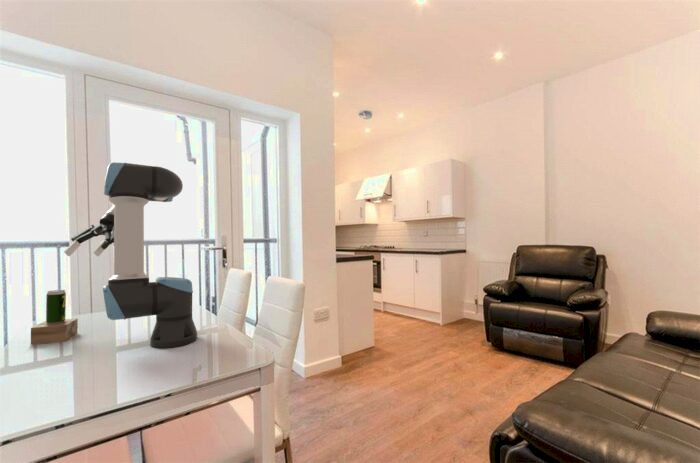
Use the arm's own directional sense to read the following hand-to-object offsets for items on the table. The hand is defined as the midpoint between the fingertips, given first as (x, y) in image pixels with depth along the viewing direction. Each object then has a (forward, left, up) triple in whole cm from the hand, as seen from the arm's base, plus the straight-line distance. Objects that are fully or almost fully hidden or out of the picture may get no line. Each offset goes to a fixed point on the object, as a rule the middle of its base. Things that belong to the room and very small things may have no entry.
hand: (81, 254), depth 131 cm
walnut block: (-9, +5, -31) cm, 33 cm away
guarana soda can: (-9, +5, -25) cm, 27 cm away
